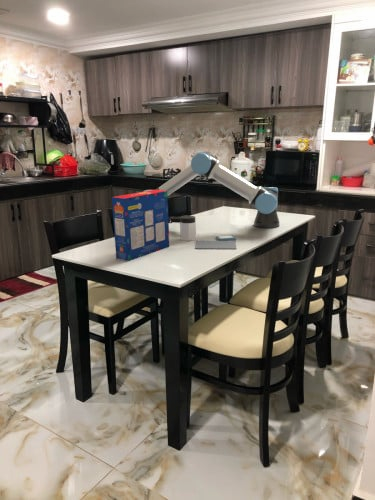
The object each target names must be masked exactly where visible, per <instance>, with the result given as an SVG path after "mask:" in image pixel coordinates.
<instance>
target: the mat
mask: <svg viewBox="0 0 375 500" xmlns="http://www.w3.org/2000/svg"><path fill="white" fill-rule="evenodd" d="M194 246H195V247H194V249H195V250H237V242H236V240H231V241H218V240H196V244H195V245H194Z"/></svg>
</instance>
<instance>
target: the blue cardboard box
mask: <svg viewBox="0 0 375 500" xmlns="http://www.w3.org/2000/svg"><path fill="white" fill-rule="evenodd" d="M149 190H150V191H145V190H144V191H145V192H144V191H140V192H133V193H128V194H122V195H116V196H112V197H111V205H112V206H111V207H112V216H113V217H112V219H113V230H114V231H113V232H114V243H115V245H114V246H115V257H116V259H118V260H122V261H127V262H130V261H133V260H136V259H139V258H142V257H145V256H147V255H151V254H153V253H155V252H159V251H162V250H164V249H168V248H170V229H169V227H170V226H169V225H170V223H169V220H168V217H169V195H168V191H164V190H156V189H149Z"/></svg>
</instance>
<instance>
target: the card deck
mask: <svg viewBox="0 0 375 500" xmlns="http://www.w3.org/2000/svg"><path fill="white" fill-rule="evenodd" d="M215 239H216V241H236V240H237V238H236V237H235V236H234V235H233V234H227V235H226V234H223V235H215Z"/></svg>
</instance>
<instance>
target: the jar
mask: <svg viewBox="0 0 375 500" xmlns="http://www.w3.org/2000/svg"><path fill="white" fill-rule="evenodd" d="M196 226H197V225H196V216H194V215H182V216H180V223H179V228H180V229H179V230H180V231H179V232H180V233H179V234H180V235H179V236H180V241H184V242H186V241H187V242H190V241H195V240H196V239H197V236H196V235H197V229H196V228H197V227H196ZM196 241H197V240H196Z"/></svg>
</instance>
